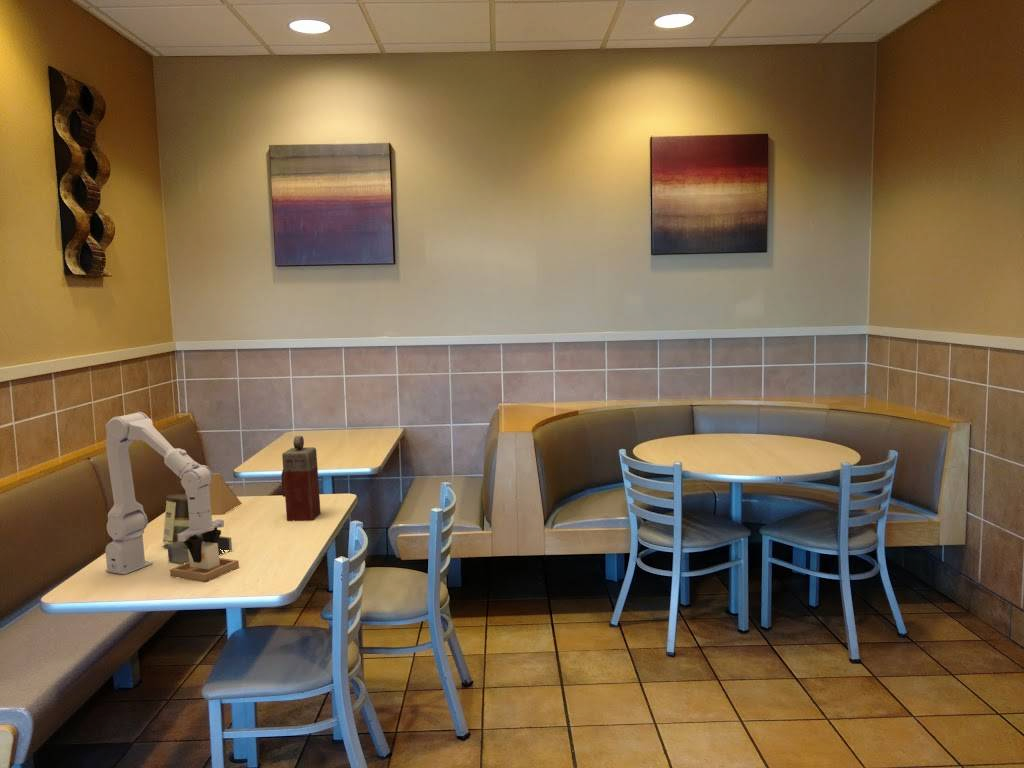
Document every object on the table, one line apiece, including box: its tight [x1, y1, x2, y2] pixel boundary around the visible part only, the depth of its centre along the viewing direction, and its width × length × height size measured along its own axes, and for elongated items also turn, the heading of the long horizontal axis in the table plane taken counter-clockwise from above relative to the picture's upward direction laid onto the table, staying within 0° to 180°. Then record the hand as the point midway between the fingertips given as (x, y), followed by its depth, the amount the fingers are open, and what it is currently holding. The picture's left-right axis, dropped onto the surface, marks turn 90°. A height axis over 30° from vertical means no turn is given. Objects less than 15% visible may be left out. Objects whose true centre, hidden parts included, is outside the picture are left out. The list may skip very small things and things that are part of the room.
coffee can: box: [162, 493, 190, 545], centre depth 246 cm, size 10×10×14 cm
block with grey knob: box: [188, 542, 220, 569], centre depth 219 cm, size 4×7×7 cm, turn 64°
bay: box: [166, 534, 233, 564], centre depth 233 cm, size 14×10×5 cm
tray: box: [169, 557, 240, 583], centre depth 219 cm, size 12×13×2 cm
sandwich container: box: [209, 472, 243, 516], centre depth 286 cm, size 9×15×15 cm, turn 173°
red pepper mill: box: [280, 435, 322, 522], centre depth 270 cm, size 9×11×28 cm
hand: (204, 559), depth 219 cm, fingers closed on block with grey knob, 4 cm apart
